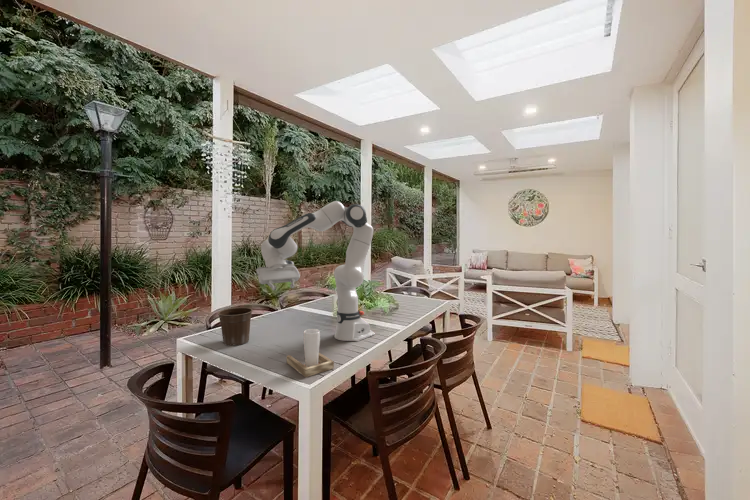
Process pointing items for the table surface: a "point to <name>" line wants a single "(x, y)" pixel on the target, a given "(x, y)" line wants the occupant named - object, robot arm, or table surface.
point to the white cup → (311, 346)
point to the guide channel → (322, 366)
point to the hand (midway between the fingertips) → (283, 288)
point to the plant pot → (235, 325)
